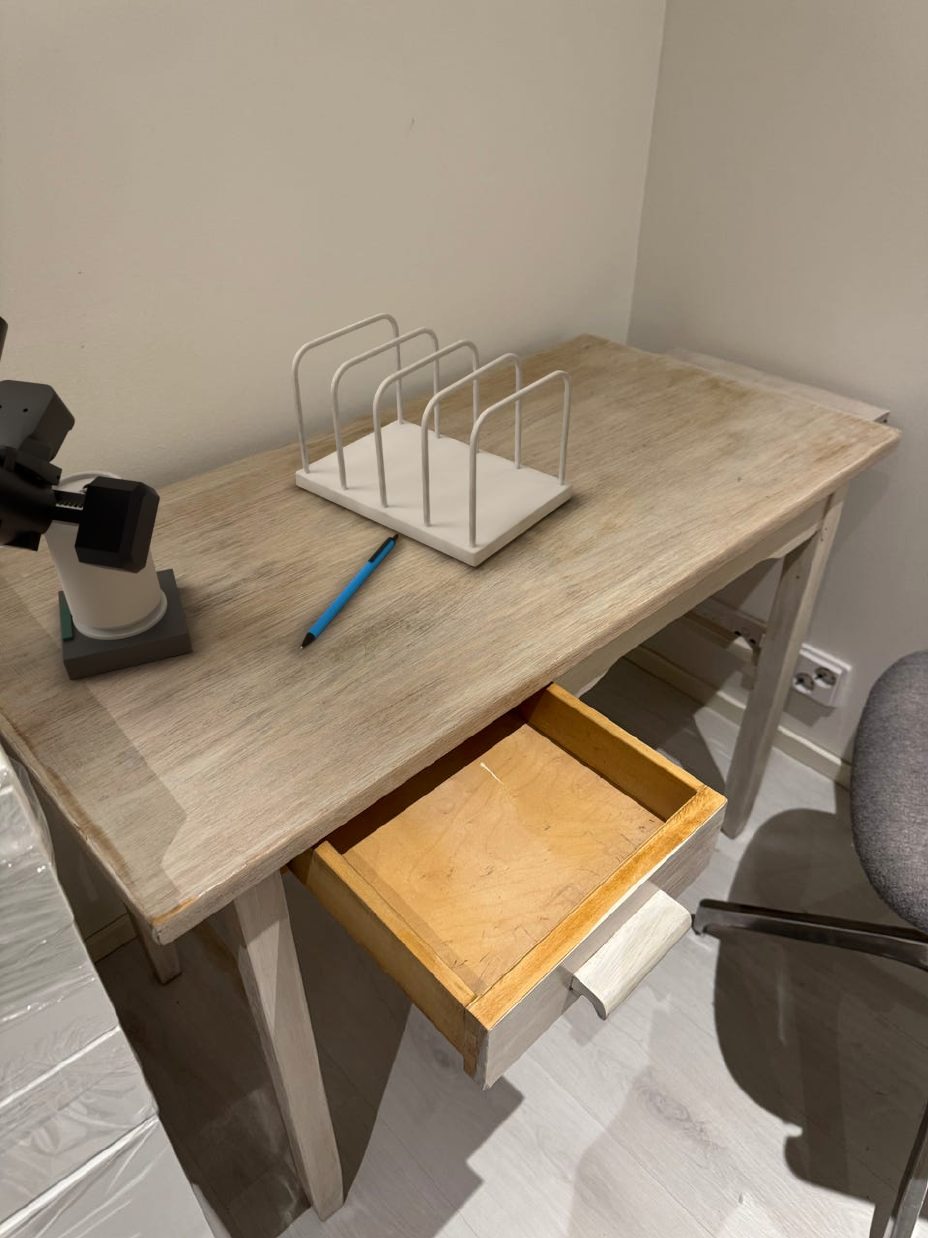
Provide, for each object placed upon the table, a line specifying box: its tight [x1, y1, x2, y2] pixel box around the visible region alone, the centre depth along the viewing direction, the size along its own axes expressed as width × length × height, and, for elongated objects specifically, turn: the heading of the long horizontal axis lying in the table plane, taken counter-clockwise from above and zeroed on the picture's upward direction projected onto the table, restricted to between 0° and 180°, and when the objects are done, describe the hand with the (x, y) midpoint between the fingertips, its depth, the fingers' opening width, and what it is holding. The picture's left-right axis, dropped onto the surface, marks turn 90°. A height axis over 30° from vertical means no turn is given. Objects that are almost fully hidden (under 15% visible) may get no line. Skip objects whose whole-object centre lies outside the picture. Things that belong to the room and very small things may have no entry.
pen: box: [300, 533, 400, 650], centre depth 84 cm, size 1×19×1 cm, turn 158°
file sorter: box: [290, 312, 573, 567], centre depth 93 cm, size 25×17×16 cm
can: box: [43, 470, 162, 630], centre depth 73 cm, size 8×8×12 cm
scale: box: [57, 568, 193, 681], centre depth 78 cm, size 10×10×3 cm
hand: (92, 536), depth 72 cm, fingers open, 9 cm apart
